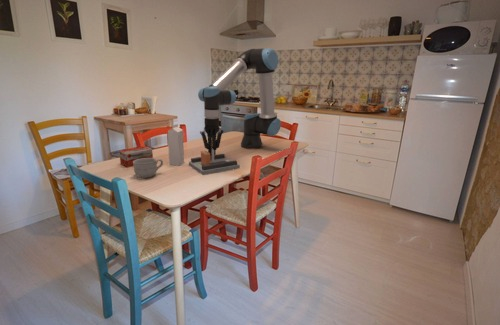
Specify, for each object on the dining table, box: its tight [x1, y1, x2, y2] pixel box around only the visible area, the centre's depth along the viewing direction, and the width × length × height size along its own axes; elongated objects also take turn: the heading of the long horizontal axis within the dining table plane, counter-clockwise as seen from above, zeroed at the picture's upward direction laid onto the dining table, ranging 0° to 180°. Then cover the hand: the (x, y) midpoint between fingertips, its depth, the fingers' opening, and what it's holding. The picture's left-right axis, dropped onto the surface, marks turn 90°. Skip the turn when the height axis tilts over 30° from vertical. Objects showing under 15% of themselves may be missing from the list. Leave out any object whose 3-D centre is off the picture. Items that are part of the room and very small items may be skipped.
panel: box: [188, 156, 241, 176], centre depth 155 cm, size 22×18×2 cm
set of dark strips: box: [190, 153, 238, 170], centre depth 154 cm, size 20×16×2 cm
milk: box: [167, 123, 185, 167], centre depth 154 cm, size 6×6×22 cm
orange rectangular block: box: [200, 150, 210, 165], centre depth 151 cm, size 3×6×7 cm, turn 34°
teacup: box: [133, 157, 164, 179], centre depth 138 cm, size 14×11×8 cm
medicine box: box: [119, 145, 154, 168], centre depth 155 cm, size 15×8×8 cm, turn 136°
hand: (212, 160), depth 153 cm, fingers closed
